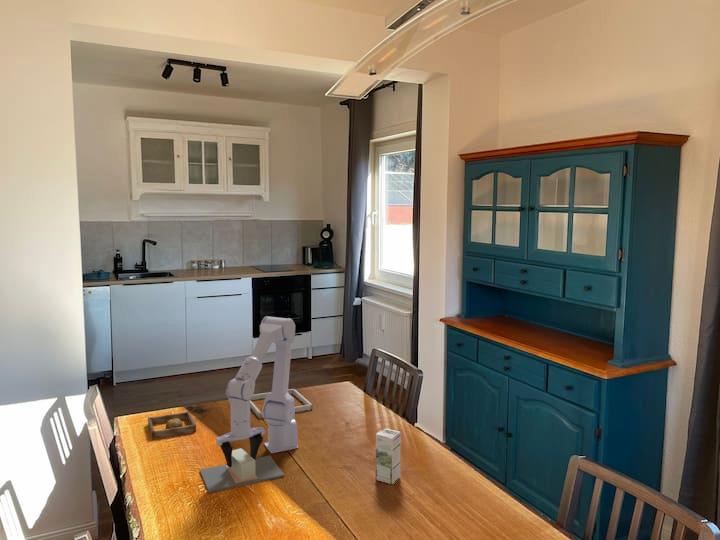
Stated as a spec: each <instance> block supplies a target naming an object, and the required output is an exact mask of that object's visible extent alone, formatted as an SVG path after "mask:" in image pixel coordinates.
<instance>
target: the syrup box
mask: <svg viewBox="0 0 720 540" xmlns="http://www.w3.org/2000/svg"><path fill="white" fill-rule="evenodd" d="M401 433H402V431H399V430H394V429H390V428H386V427H384V428H382V429H380V430H378V432H376V434H375V477H374V478H375V481H376V480H378V481H377V482H379V481H381V482H380V483H383V482H385V483H384V484H386V483H388V484H387V485H390V484H393V483H394V482H395V481H396V480H397V479H398V478H399V477H400V478H401V447H402V446H401V445H402V444H401V443H402V439H401V437H402V435H401ZM400 478H399V479H400ZM399 479H398V480H399ZM398 480H397V481H398ZM397 481H396V482H397ZM396 482H395V483H396ZM395 483H394V484H395ZM394 484H393V485H394Z"/></svg>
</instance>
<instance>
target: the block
mask: <svg viewBox="0 0 720 540" xmlns="http://www.w3.org/2000/svg"><path fill="white" fill-rule="evenodd" d="M228 468H229V469H230V470H231V471H232V472H233V473H234V474H235V475H236V476H237V477H238V478H239V479H240V480H241V481H242V480H246V479H249V478H252V477H255V476H256V473H255V460H254V459H253V458H252V457H251V456H250V453H248V452H247V451H246V450H245V449H243V448H241V447H239V448H236V449H232V467H228Z"/></svg>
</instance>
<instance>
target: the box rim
mask: <svg viewBox="0 0 720 540" xmlns="http://www.w3.org/2000/svg"><path fill="white" fill-rule="evenodd" d="M271 392H272V391H270V392H263V393H256V394H255V393H254V394H253V395H252V397H251V398H250V410H252V411H253V412H254V413H255V415H256V416H257V417H258V419H265V418H264V417H263V414H262V411H260V409H259V408H258V407H257V406H256V405H255V403H254V402H253V401H256V400H257V401H258V400H261V399H262V400H265V397H266V396H267V395H269V394H270V393H271ZM288 393H289V394H290V395H293V396H294V397H296V398H297V399H298V400H299V401H300V402H301V401H302V402H303V403H302V402H301V403H302V404H304V405H299V406H298V405H297V406H295V412H296V413H301V412H306V411H305V410H307V411H312V410H311V409H313V407H314V406H313V404H312V403H311V402H310V401H309V400H308V399H307V398H305V396H303V395H302V393H300V392H298V391H297V390H296V388H291V389H290V388H288ZM300 411H301V412H300Z"/></svg>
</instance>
